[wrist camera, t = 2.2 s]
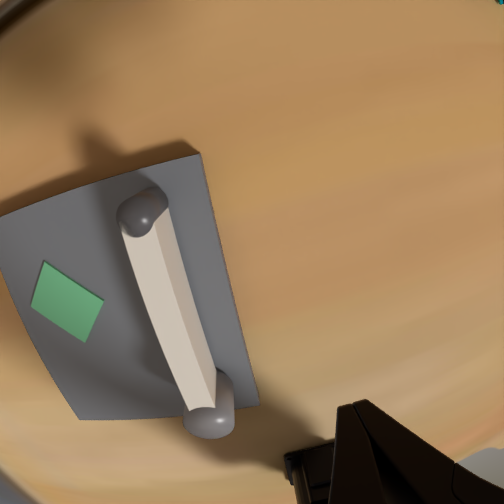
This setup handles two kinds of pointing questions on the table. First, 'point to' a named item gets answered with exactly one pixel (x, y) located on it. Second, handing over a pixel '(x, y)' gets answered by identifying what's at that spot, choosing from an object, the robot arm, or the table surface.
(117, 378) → the plate
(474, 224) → the table surface
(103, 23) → the table surface
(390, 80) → the table surface
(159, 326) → the light grey rounded bar
